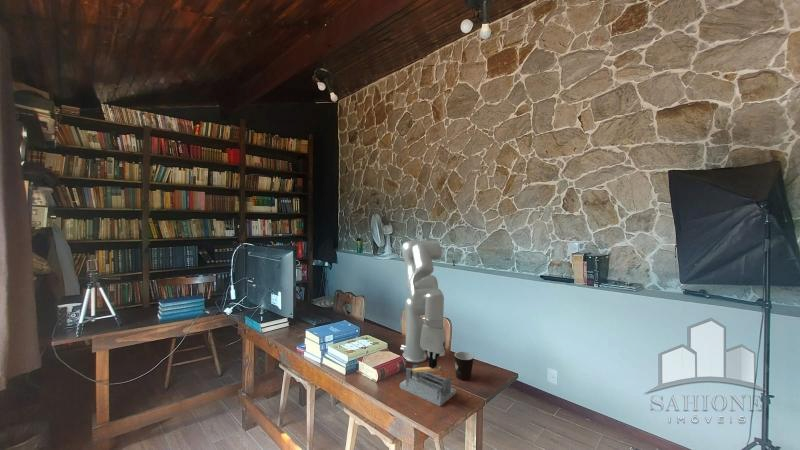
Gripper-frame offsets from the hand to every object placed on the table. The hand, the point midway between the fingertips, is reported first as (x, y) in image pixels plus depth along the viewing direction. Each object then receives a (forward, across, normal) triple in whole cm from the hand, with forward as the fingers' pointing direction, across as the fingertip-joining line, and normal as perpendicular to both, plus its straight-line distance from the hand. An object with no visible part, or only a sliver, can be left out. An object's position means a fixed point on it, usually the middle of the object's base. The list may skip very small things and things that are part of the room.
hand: (432, 366), depth 136 cm
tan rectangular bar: (+3, -3, 0) cm, 4 cm away
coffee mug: (+11, +2, +22) cm, 25 cm away
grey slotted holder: (+11, -3, 0) cm, 11 cm away
